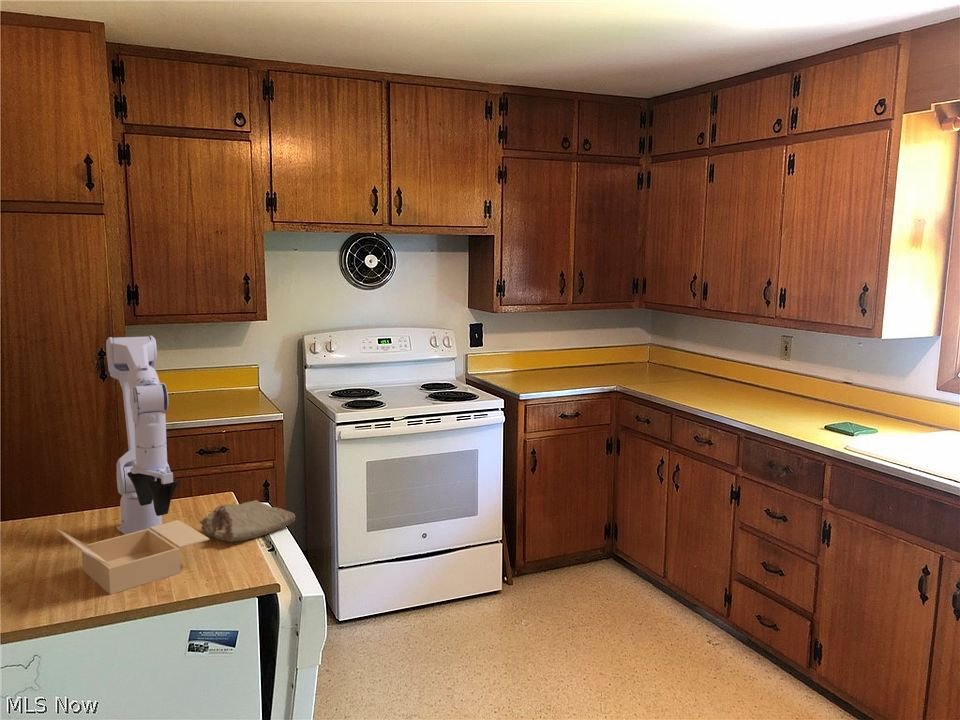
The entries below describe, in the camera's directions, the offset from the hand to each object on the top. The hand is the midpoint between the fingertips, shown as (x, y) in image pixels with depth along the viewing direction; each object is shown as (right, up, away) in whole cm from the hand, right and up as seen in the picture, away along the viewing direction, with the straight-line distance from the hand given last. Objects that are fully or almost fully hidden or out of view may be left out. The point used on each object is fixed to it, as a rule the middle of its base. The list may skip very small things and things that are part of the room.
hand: (153, 509), depth 148 cm
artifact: (+12, -9, +17) cm, 23 cm away
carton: (0, -11, -3) cm, 11 cm away
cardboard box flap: (-8, -4, -12) cm, 15 cm away
